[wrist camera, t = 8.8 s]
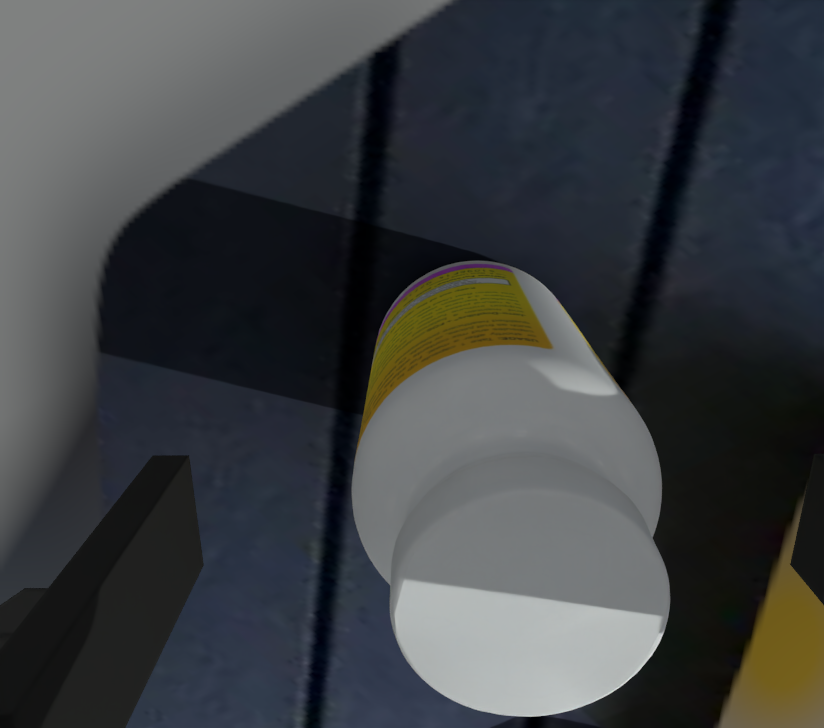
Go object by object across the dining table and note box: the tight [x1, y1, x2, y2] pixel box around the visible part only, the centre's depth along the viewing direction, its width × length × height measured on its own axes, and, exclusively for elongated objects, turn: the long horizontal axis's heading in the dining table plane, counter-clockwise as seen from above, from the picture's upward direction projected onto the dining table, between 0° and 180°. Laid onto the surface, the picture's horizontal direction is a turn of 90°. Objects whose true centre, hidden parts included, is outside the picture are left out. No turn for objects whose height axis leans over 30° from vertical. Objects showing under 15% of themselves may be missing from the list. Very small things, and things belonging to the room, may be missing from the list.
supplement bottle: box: [352, 261, 670, 717], centre depth 17 cm, size 7×7×13 cm
